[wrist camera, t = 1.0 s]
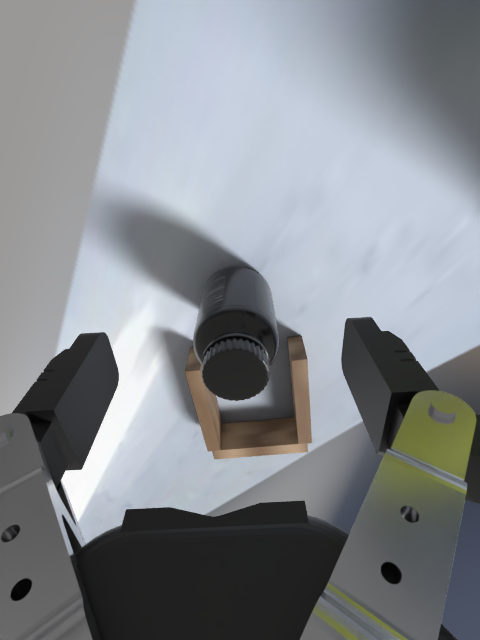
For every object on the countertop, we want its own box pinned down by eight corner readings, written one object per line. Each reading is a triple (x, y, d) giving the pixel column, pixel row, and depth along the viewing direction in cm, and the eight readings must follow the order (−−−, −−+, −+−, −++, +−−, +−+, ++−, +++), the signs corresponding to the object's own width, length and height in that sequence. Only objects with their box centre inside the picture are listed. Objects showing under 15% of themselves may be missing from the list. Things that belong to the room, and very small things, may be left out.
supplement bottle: (211, 330, 36) (197, 416, 26) (195, 270, 33) (172, 343, 22) (276, 320, 35) (288, 405, 25) (267, 258, 32) (277, 328, 22)
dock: (301, 336, 36) (307, 359, 33) (307, 424, 43) (312, 451, 40) (190, 348, 37) (184, 371, 34) (213, 432, 44) (210, 459, 41)
